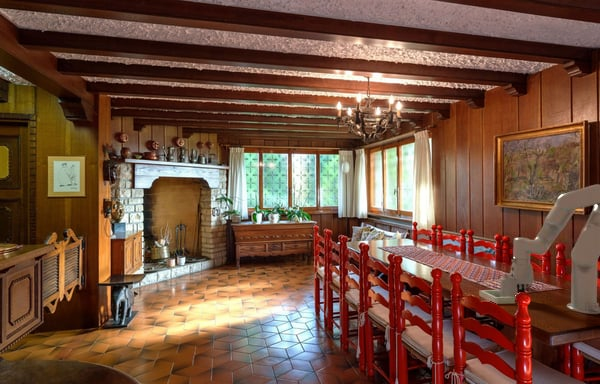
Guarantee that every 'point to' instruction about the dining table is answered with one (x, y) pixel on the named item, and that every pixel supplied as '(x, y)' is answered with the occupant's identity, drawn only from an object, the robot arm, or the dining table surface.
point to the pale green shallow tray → (491, 295)
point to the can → (508, 286)
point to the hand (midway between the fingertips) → (520, 296)
